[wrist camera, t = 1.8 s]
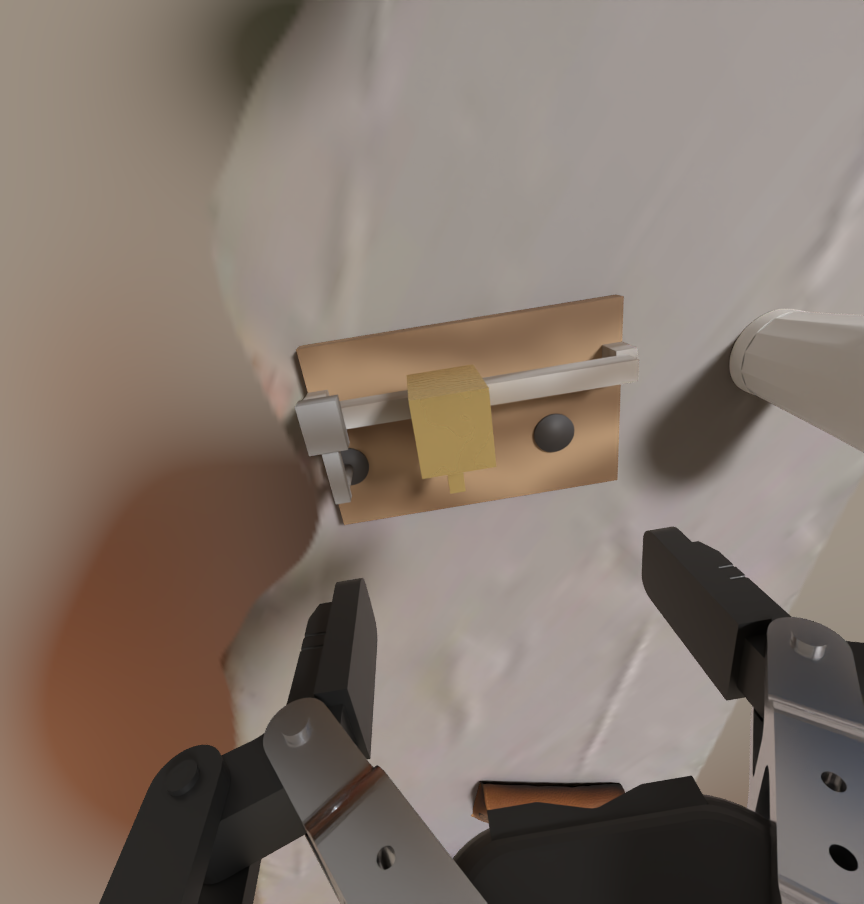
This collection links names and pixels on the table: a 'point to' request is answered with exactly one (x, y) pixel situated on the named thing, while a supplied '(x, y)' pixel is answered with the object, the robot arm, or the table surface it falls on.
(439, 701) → the table surface
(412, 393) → the sliding block
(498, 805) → the sunglasses case
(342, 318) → the table surface
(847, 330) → the cup
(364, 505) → the board
